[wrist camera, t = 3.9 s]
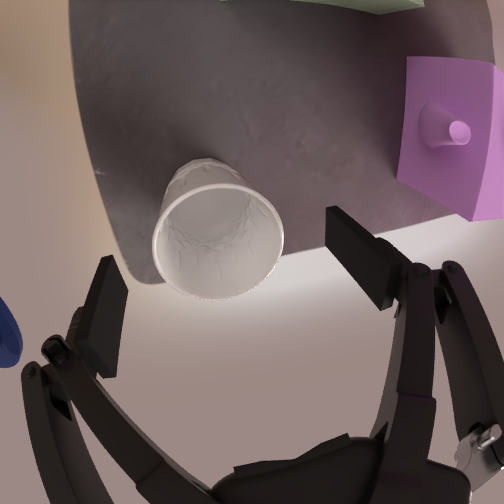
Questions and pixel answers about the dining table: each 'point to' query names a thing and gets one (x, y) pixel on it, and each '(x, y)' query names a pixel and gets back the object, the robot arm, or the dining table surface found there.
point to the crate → (372, 5)
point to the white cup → (215, 233)
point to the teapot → (455, 134)
